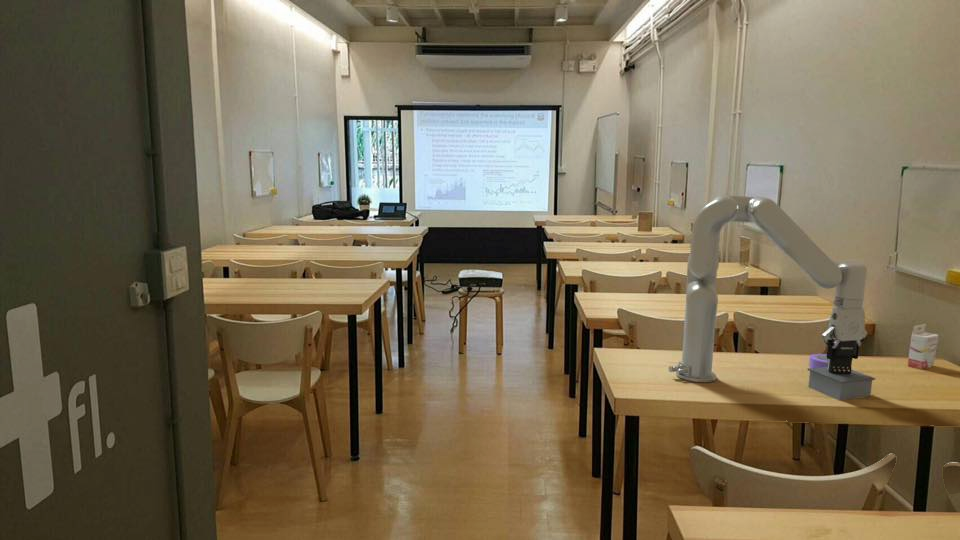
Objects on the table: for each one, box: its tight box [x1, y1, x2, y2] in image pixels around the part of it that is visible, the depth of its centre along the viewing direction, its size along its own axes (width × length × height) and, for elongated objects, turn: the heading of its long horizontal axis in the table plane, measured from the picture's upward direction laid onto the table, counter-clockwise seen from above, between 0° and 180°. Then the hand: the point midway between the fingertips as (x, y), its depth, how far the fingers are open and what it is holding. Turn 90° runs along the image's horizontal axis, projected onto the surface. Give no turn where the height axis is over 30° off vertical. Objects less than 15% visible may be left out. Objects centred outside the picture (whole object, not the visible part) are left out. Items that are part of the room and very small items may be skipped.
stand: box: [807, 367, 876, 401], centre depth 200 cm, size 13×13×6 cm
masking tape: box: [808, 353, 828, 368], centre depth 224 cm, size 12×12×4 cm
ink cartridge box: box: [907, 323, 939, 370], centre depth 227 cm, size 9×5×15 cm, turn 120°
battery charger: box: [827, 340, 857, 374], centre depth 198 cm, size 7×4×11 cm, turn 89°
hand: (842, 358), depth 199 cm, fingers open, 7 cm apart
